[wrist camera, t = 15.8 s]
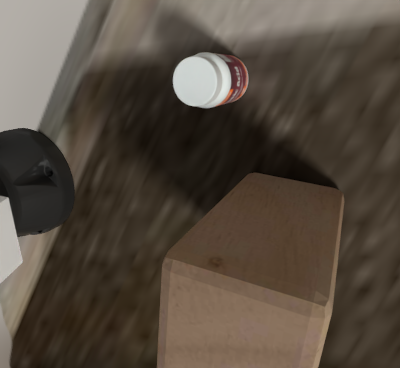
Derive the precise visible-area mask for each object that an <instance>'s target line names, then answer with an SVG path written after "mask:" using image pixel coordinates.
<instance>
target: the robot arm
mask: <svg viewBox="0 0 400 368" xmlns="http://www.w3.org/2000/svg"><path fill="white" fill-rule="evenodd" d="M73 204H74V184H73V179H72V175H71V172H70V169H69V167H68V164H67V162H66V160H65V159H64V157H63V155H62V154H61V152H60V151H59V150H58V148H57V147H56V146H55V145H54V144H53V143H52V142H51V141H50V140H49V139H48V138H47V137H45V136H44V135H42V134H41V133H39V132H37V131H34V130H31V129H26V128H18V129H13V130H8V131H3V132H0V283H1V282H2V281H3V280H4V279H6V278H7V277H8V276H9V275H10V274H11V273H12V272H13V271H14V270H15V269H16V268H17V267H18V266H19V265H20V264H21V263H22V262H23V261H22V256H21V252H20V247H19V243H18V238H17V237H20V236H26V235H29V234H30V235H36V234H42V233H45V232H48V231H50V230H52V229H54V228H56V227H58V226H59V225H61V224H62V223H64V222H65V221H66V219H67V218H68V217H69V215H70V213H71V211H72V208H73Z"/></svg>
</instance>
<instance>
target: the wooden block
mask: <svg viewBox="0 0 400 368" xmlns="http://www.w3.org/2000/svg"><path fill="white" fill-rule="evenodd" d="M343 208H344V196H343V193H342V192H341V191H339V190H337V189H336V188H331V187H326V186H321V185H316V184H311V183H306V182H301V181H296V180H291V179H286V178H281V177H276V176H271V175H265V174H260V173H250V174H248V175H247V176H246V177H245V178H243V179H242V180H241V181H240V182H239V183H238V184H237V185H236V186H235V187H234V188H233V189H232V190H231V191H230V192H229V193H228V194H227V195H226V196H225V197H224V198H223V199H222V200H221V201H220V202H219V203H217V204H216V205H215V206H214V207H213V208H212V209H211V210H210V211H209V212H208V213H207V214H206V215H205V216H204V217H203V218H202V219H201V220H200V221H199V222H198V223H197V224H196V225H195V226H194V227H192V228H191V229H190V230H189V231H188V232H187V233H186V234H185V235H184V236H183V237H182V238H181V239H180V240H179V241H178V242H177V243H176V244H175V245H174V246H173V247H172V248H171V249H170V250H169V251H168V252H167V254H166V256H165V258H164V260H163V265H162V279H161V299H160V318H159V337H158V357H157V368H318V365H319V361H320V357H321V353H322V350H323V346H324V342H325V338H326V334H327V330H328V326H329V322H330V318H331V314H332V308H333V299H334V290H335V280H336V271H337V262H338V253H339V244H340V235H341V226H342V217H343Z"/></svg>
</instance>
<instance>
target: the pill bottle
mask: <svg viewBox="0 0 400 368" xmlns="http://www.w3.org/2000/svg"><path fill="white" fill-rule="evenodd" d="M247 86H248V71H247V69H246V67H245V65H244V64H243V62H242V61H241V60H239V59H238V58H236V57H234V56H231V55H225V54H216V53H210V52H202V53H198V54H196V55H194V56H191V57H187V58H185V59H184V60H182V61H181V62H180V63H179V64H178V66H177V67H176V69H175V71H174V75H173V87H174V90H175V93H176V95H177V96H178V98H179V99H180V100H181V101H182V102H184V103H185V104H187V105H190V106H198V107H201V108H212V107H216V106H219V105H224V104H228V103H231V102H234V101H236V100H238V99H239V98H240V97H241V96H242V95H243V94H244V93H245V91H246V89H247Z"/></svg>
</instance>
